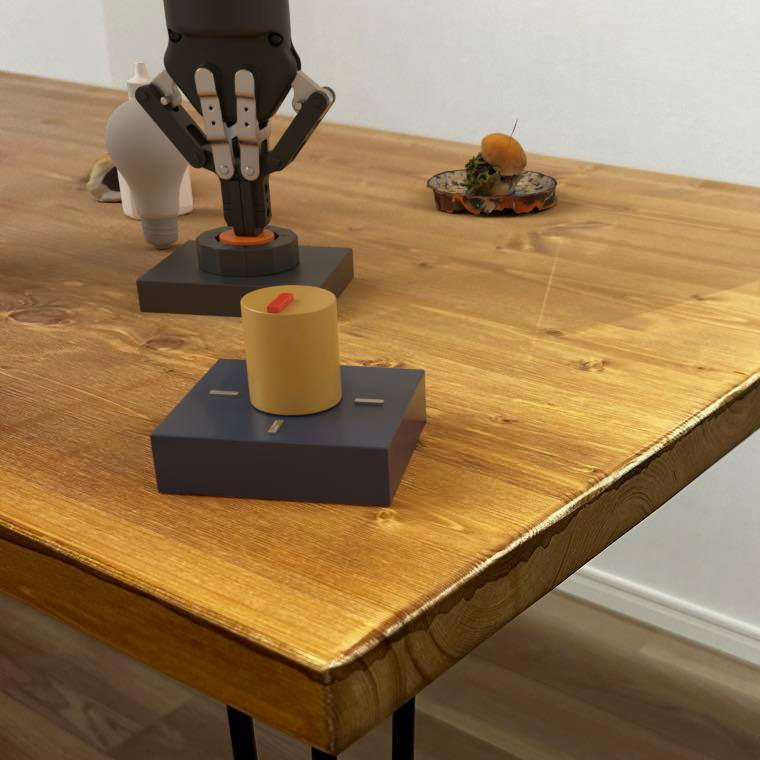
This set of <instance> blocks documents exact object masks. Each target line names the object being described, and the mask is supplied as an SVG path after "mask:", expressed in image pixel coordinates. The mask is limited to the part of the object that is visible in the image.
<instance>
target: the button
mask: <svg viewBox="0 0 760 760" xmlns="http://www.w3.org/2000/svg"><path fill="white" fill-rule="evenodd" d="M219 238H220V242H221V243H225V244H229V245H255V244H264V243H268V242H271V241H275V238H274V233H273V232H272V231H270V230H266V229H264V230H263V232H262V233H261V234H259V235H258V236H257V237H253V236H236V235H235V234H234V229H231V230H227V231H225V232H222V233H221V234H220V235H219Z"/></svg>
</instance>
